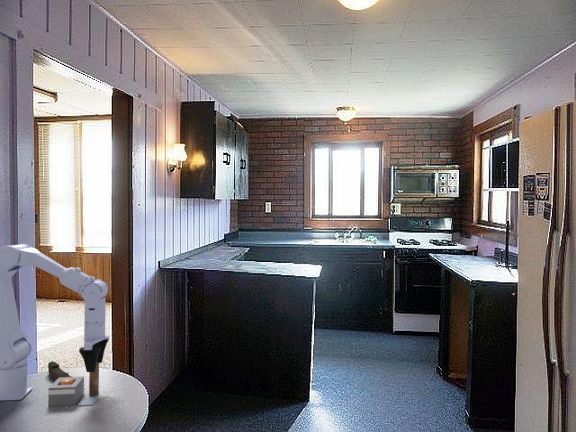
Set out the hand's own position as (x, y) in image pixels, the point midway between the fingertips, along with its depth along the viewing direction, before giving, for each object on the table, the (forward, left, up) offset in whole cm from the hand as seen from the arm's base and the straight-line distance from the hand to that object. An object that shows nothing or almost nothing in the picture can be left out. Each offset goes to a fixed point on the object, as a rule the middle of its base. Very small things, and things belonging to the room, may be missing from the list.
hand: (94, 367), depth 131 cm
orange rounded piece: (-7, -4, -5) cm, 9 cm away
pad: (0, -6, -8) cm, 10 cm away
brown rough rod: (-14, +11, -8) cm, 20 cm away
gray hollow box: (-7, -3, -8) cm, 11 cm away
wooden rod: (0, 0, -8) cm, 8 cm away
